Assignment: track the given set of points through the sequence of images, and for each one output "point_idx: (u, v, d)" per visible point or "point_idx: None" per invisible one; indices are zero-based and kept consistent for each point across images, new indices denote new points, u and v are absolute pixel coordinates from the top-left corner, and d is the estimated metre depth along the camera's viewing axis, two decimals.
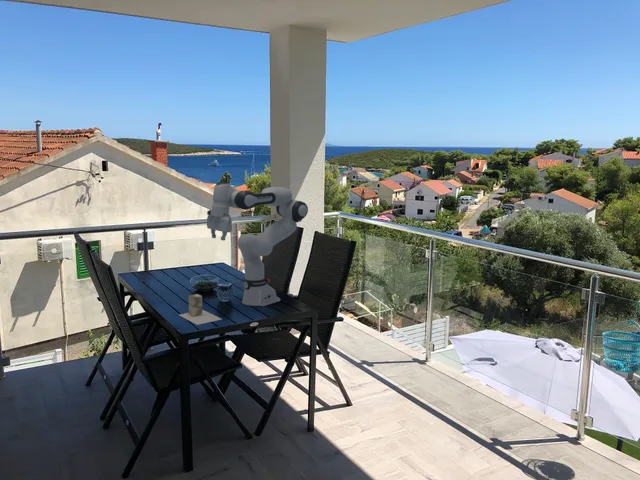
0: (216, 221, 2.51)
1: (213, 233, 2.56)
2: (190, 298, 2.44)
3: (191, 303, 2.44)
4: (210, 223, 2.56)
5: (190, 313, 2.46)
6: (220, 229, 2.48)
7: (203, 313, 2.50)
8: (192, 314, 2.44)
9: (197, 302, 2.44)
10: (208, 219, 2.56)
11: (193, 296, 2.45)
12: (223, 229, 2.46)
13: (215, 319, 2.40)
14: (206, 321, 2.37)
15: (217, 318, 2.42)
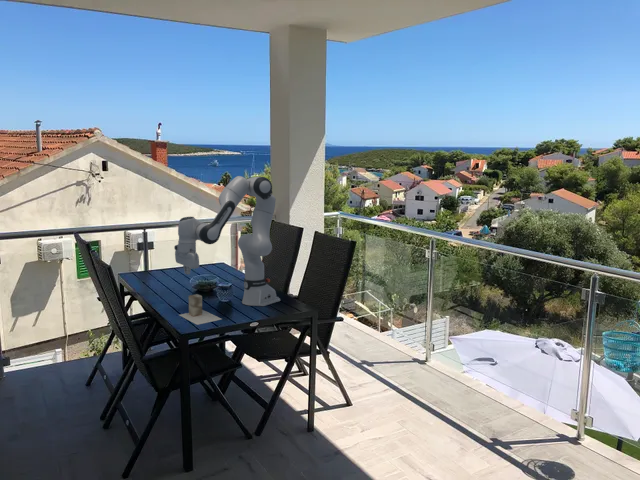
0: (183, 256, 2.48)
1: (186, 269, 2.50)
2: (190, 298, 2.44)
3: (191, 303, 2.44)
4: (178, 258, 2.52)
5: (190, 313, 2.46)
6: (188, 265, 2.45)
7: (203, 313, 2.50)
8: (192, 314, 2.44)
9: (197, 302, 2.44)
10: (176, 254, 2.53)
11: (193, 296, 2.45)
12: (190, 265, 2.42)
13: (215, 319, 2.40)
14: (206, 321, 2.37)
15: (217, 318, 2.42)
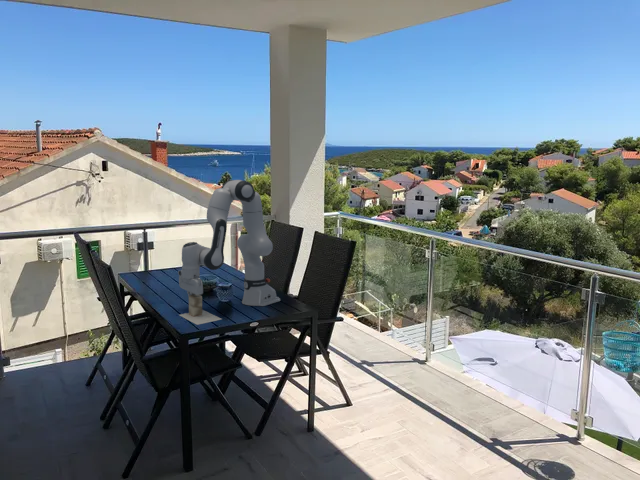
0: (187, 282, 2.47)
1: (190, 294, 2.50)
2: (190, 298, 2.44)
3: (191, 303, 2.44)
4: (182, 283, 2.52)
5: (190, 313, 2.46)
6: (191, 291, 2.44)
7: (203, 313, 2.50)
8: (192, 314, 2.44)
9: (197, 302, 2.44)
10: (180, 279, 2.53)
11: (193, 296, 2.44)
12: (194, 291, 2.42)
13: (215, 319, 2.40)
14: (206, 321, 2.37)
15: (217, 318, 2.42)
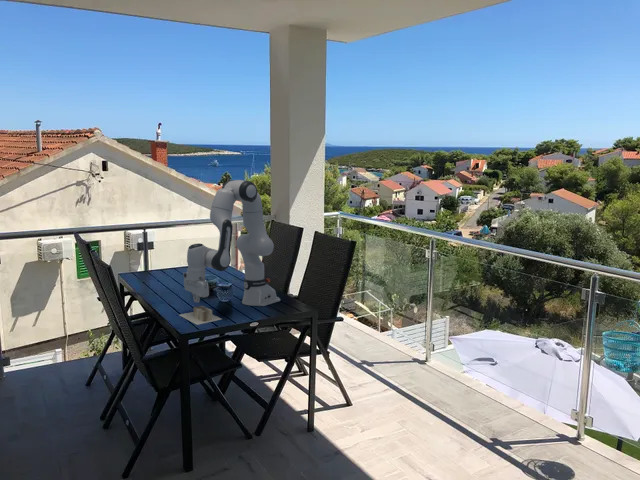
0: (193, 284, 2.43)
1: (195, 297, 2.45)
2: (202, 315, 2.37)
3: (200, 316, 2.38)
4: (187, 285, 2.47)
5: (194, 311, 2.42)
6: (197, 293, 2.40)
7: None
8: (194, 315, 2.43)
9: None
10: (185, 281, 2.48)
11: (205, 317, 2.37)
12: (200, 294, 2.37)
13: (215, 319, 2.40)
14: (206, 321, 2.37)
15: (217, 318, 2.42)
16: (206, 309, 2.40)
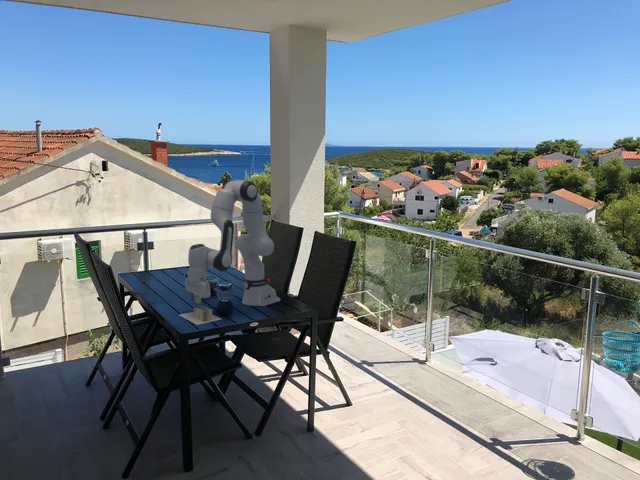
0: (194, 285, 2.42)
1: (196, 297, 2.44)
2: (202, 315, 2.37)
3: (200, 316, 2.38)
4: (188, 286, 2.46)
5: (194, 311, 2.42)
6: (198, 294, 2.39)
7: None
8: (194, 315, 2.43)
9: None
10: (186, 281, 2.47)
11: (205, 317, 2.37)
12: (201, 295, 2.36)
13: (215, 319, 2.40)
14: (206, 321, 2.37)
15: (217, 318, 2.42)
16: (206, 309, 2.40)
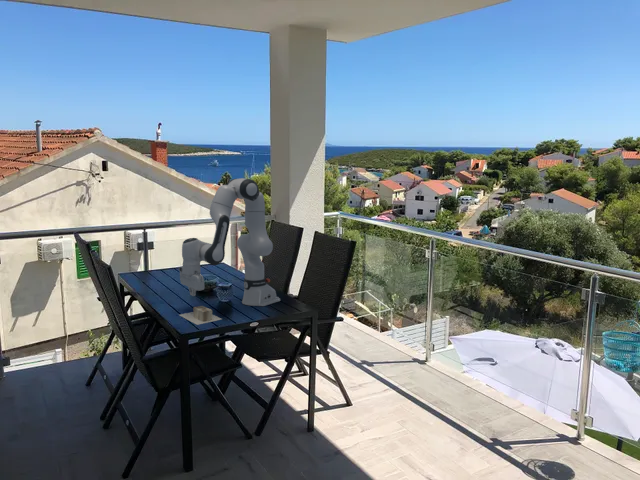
0: (188, 278, 2.47)
1: (191, 290, 2.49)
2: (202, 315, 2.37)
3: (200, 316, 2.38)
4: (183, 279, 2.51)
5: (194, 311, 2.42)
6: (193, 287, 2.44)
7: None
8: (194, 315, 2.43)
9: None
10: (181, 275, 2.52)
11: (205, 317, 2.37)
12: (196, 287, 2.41)
13: (215, 319, 2.40)
14: (206, 321, 2.37)
15: (217, 318, 2.42)
16: (206, 309, 2.40)
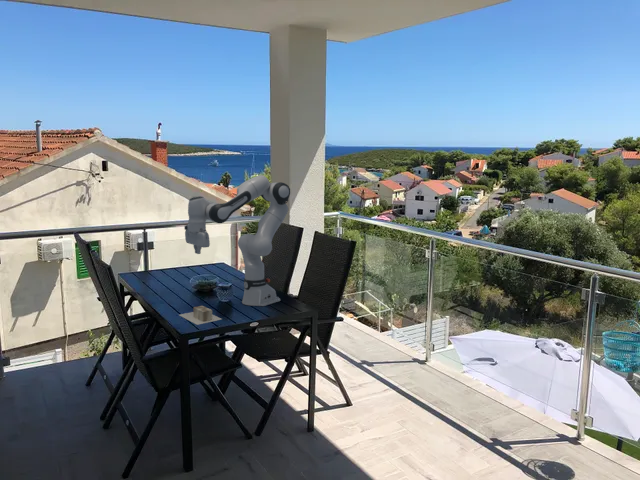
0: (194, 236, 2.50)
1: (196, 248, 2.53)
2: (202, 315, 2.37)
3: (200, 316, 2.38)
4: (188, 238, 2.55)
5: (194, 311, 2.42)
6: (198, 244, 2.47)
7: None
8: (194, 315, 2.43)
9: None
10: (186, 234, 2.55)
11: (205, 317, 2.37)
12: (201, 244, 2.45)
13: (215, 319, 2.40)
14: (206, 321, 2.37)
15: (217, 318, 2.42)
16: (206, 309, 2.40)
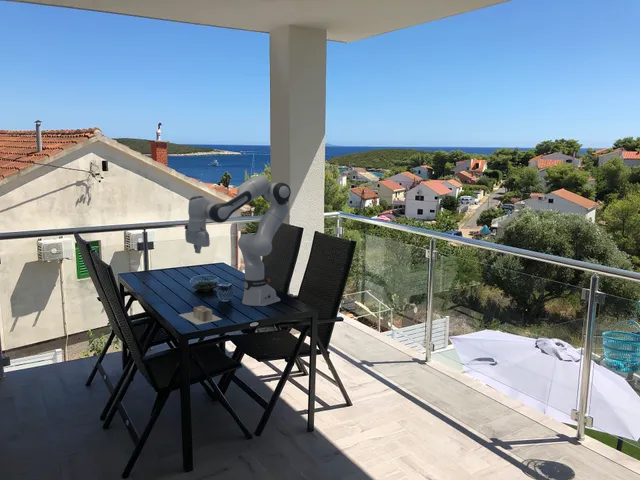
0: (194, 235, 2.50)
1: (196, 248, 2.53)
2: (202, 315, 2.37)
3: (200, 316, 2.38)
4: (188, 237, 2.55)
5: (194, 311, 2.42)
6: (198, 244, 2.47)
7: None
8: (194, 315, 2.43)
9: None
10: (186, 233, 2.55)
11: (205, 317, 2.37)
12: (201, 244, 2.45)
13: (215, 319, 2.40)
14: (206, 321, 2.37)
15: (217, 318, 2.42)
16: (206, 309, 2.40)
